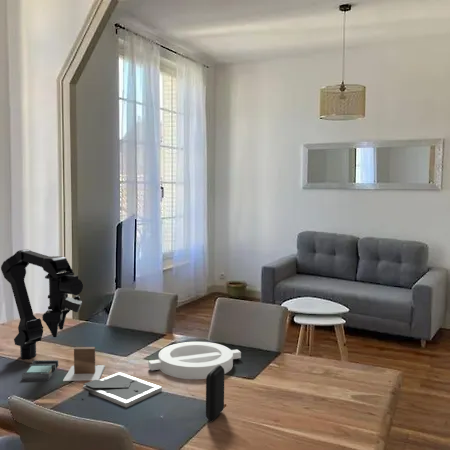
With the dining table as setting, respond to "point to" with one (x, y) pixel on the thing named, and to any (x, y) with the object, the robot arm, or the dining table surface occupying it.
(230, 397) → the dining table surface
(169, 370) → the ring with crossbar
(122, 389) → the picture frame
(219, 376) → the carrying case or bag
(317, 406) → the dining table surface
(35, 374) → the rack
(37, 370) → the offcut upper
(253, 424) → the dining table surface
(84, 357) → the brown flat block
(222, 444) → the dining table surface
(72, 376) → the board
